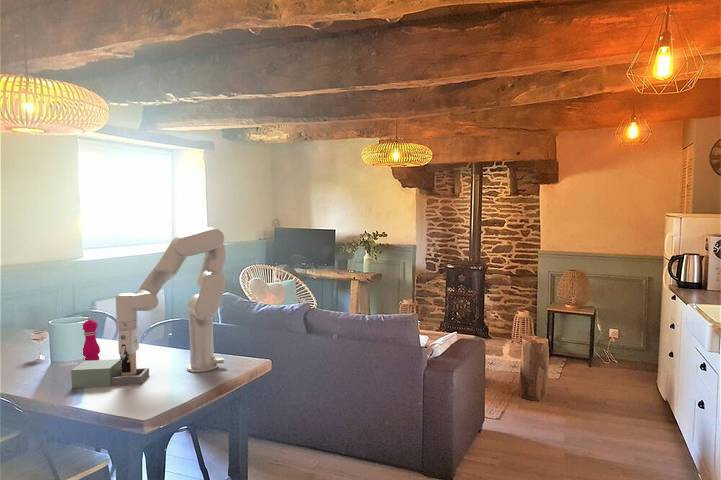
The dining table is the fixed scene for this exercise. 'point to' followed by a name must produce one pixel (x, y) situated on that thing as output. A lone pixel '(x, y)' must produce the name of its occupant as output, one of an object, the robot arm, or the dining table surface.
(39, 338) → the wineglass
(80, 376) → the green boxy piece
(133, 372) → the candle
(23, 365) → the dining table surface
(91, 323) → the pepper mill
